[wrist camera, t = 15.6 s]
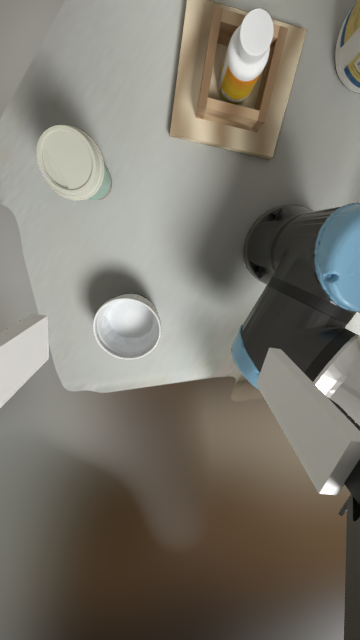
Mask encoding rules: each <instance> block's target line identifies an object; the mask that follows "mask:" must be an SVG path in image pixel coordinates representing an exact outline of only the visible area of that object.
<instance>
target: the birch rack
mask: <svg viewBox="0 0 360 640" xmlns="http://www.w3.org/2000/svg"><path fill="white" fill-rule="evenodd" d="M248 13H249V12H246V11H243V10H240V9H236V8H233V7H230V6H226V5H223V4H220V3H216V2H213V1H210V0H187V4H186V12H185V20H184V27H183V35H182V43H181V51H180V58H179V66H178V74H177V82H176V89H175V97H174V105H173V113H172V120H171V128H170V136H172V137H176V138H180V139H185V140H189V141H193V142H197V143H202V144H206V145H210V146H215V147H219V148H223V149H227V150H232V151H236V152H240V153H245V154H249V155H253V156H257V157H262V158H266V159H271V158H272V157H273V154H274V150H275V147H276V143H277V139H278V136H279V132H280V128H281V124H282V121H283V117H284V113H285V110H286V106H287V102H288V99H289V95H290V91H291V88H292V84H293V80H294V76H295V73H296V69H297V65H298V62H299V58H300V54H301V51H302V47H303V43H304V40H305V36H306V32H307V30H306V29H303V28H299V27H296V26H293V25H289V24H286V23H283V22H280V21H276V20H273V19H272V22H273V28H274V31H273V38H272V41H271V44H270V52H269V57H268V61H267V63H266V65H265V67H264V69H263V71H262V73H261V75H260V76H259V78H258V80H257V82H256V84H255V85H254V87H253V89H252V91H251V93H250V95H249V96H248V98H247V99H246V100H245V101H244V102H243V103H242V104H240V105H235V104H231V103H227V102H224V101H223V100H222V98H221V96H220V94H219V90H218V80H219V75H220V72H221V68H222V65H223V62H224V59H225V55H226V52H227V49H228V45H229V42H230V40H231V37H232V35H233V33H234V32H235V30H236V29H237V28H238V27H239V26H240V25H241V24H242V21H243V19H244V18H245V16H246V15H247V14H248Z"/></svg>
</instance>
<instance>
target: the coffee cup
mask: <svg viewBox="0 0 360 640" xmlns="http://www.w3.org/2000/svg"><path fill="white" fill-rule="evenodd" d="M36 158H37V163H38V166H39V169H40V171H41V173H42V175H43V177H44V179H45V180H46V182H47V183H48V184H49V186H50V187H51V188H52V189H53V190H54V191H56V192H57V193H58V194H60V195H61V196H63V197H65V198H67V199H70V200H85V199H94V200H100V199H103V198H105V197H106V196H108V194H109V193H110V191H111V188H112V179H111V176H110V173H109V171H108V169H107V167H106V166H105V164H104V162H103V157H102V154H101V152H100V150H99V148H98V146H97V144H96V143H95V142H94V140H93V139H92V138H91V137H90V136H89V135H88V134H86V133H85V132H84V131H82V130H80V129H78V128H76V127H74V126H70V125H55V126H52V127H50V128H48V129H46V130H45V131H44V132H43V133H42V135H41V136H40V138H39V140H38V143H37V148H36Z"/></svg>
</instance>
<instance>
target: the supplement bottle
mask: <svg viewBox="0 0 360 640" xmlns="http://www.w3.org/2000/svg"><path fill="white" fill-rule="evenodd" d="M273 31H274V28H273V22H272V19H271V17H270V15H269V14H268V12H266V11H265V10H263V9H260V8H257V9H253V10H251V11H250V12H249V13H248V14H247V15H246V16H245V18H244V19H243V21H242V24H241V25H240V26H239V27H238V28H237V29H236V30H235V32H234V33H233V35H232V37H231V40H230V42H229V45H228V49H227V52H226V55H225V59H224V62H223V65H222V68H221V72H220V75H219V80H218V90H219V94H220V96H221V98H222V100H223V101H224V102H227V103H231V104H235V105H240V104H242V103H243V102H244V101H245V100H246V99H247V98H248V96H249V95H250V93H251V91H252V89H253V87H254V85H255V84H256V82H257V80H258V78H259V76H260V75H261V73H262V71H263V69H264V67H265V65H266V63H267V61H268V57H269V52H270V44H271V41H272V38H273Z"/></svg>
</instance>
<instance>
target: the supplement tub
mask: <svg viewBox="0 0 360 640" xmlns="http://www.w3.org/2000/svg"><path fill="white" fill-rule="evenodd" d="M335 63H336V70H337V73H338V76H339V78H340V80H341V81H342V83H343V84H344V85H345V86H346V87H347V88H348V89H350V90H352V91H354V92H357V93H360V0H356V1H355V3H354V4H353V6H352V7H351V9H350V11H349V13H348V14H347V16H346V18H345V20H344V22H343V25H342V27H341V30H340V33H339V36H338V40H337V45H336V52H335Z"/></svg>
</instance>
